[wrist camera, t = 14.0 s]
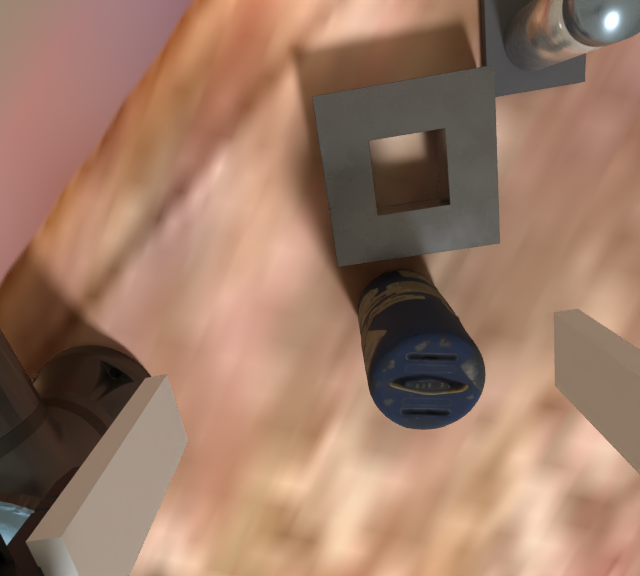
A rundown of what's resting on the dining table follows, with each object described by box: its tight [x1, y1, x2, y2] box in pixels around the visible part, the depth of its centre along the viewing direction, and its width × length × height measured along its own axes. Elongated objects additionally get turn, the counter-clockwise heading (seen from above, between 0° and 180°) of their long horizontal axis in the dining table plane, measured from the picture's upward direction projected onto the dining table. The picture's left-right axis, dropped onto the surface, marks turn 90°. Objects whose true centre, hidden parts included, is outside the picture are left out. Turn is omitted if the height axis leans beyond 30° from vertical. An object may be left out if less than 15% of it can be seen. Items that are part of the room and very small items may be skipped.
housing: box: [312, 65, 500, 267], centre depth 44 cm, size 16×16×4 cm
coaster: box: [481, 0, 586, 97], centre depth 42 cm, size 9×9×1 cm
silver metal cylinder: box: [504, 0, 640, 71], centre depth 35 cm, size 6×6×13 cm
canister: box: [358, 270, 485, 430], centre depth 43 cm, size 10×10×18 cm
